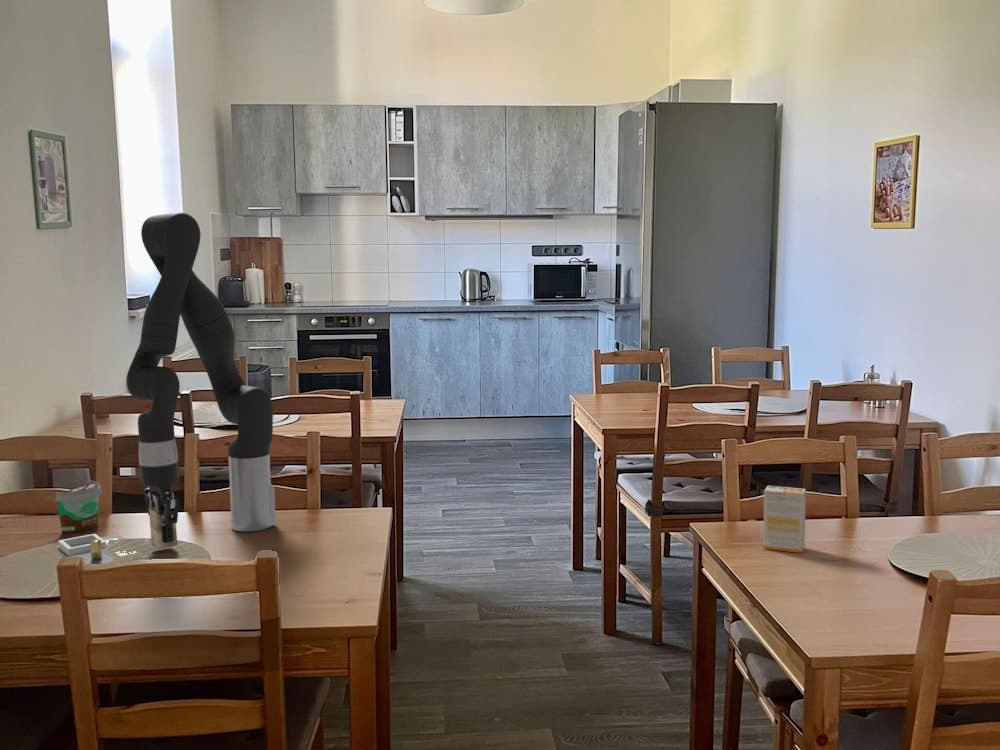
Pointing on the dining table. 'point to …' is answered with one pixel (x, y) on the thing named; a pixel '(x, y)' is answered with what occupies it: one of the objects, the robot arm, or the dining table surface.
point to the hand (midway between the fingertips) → (164, 539)
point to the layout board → (89, 548)
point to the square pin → (159, 531)
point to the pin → (96, 550)
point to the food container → (79, 508)
